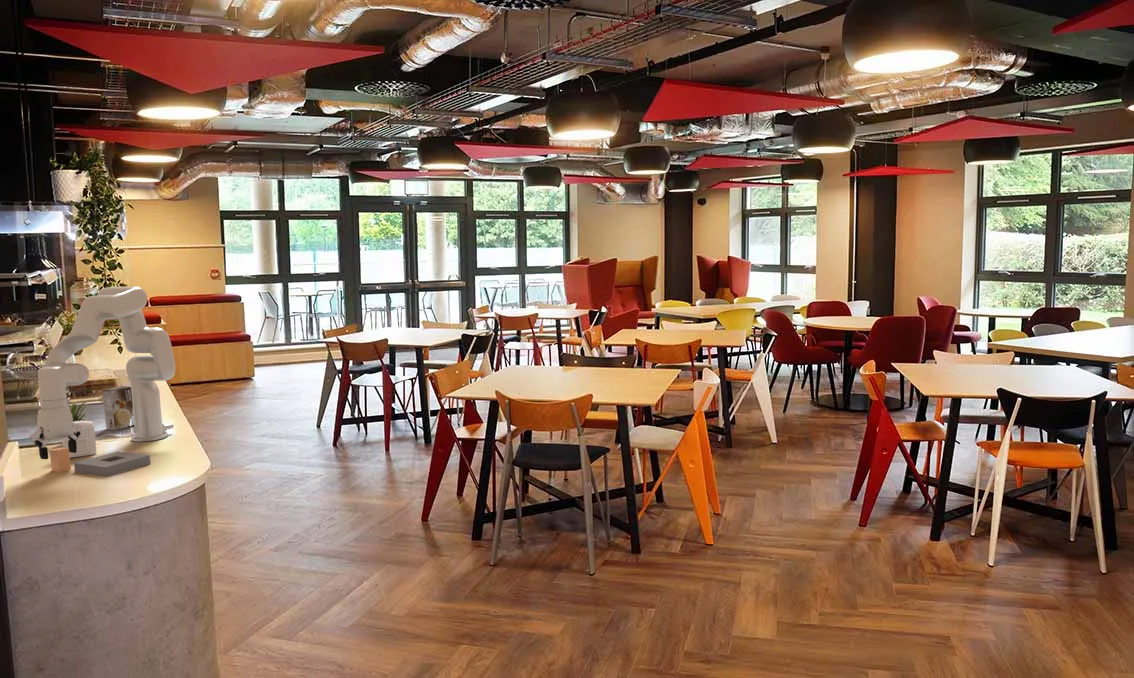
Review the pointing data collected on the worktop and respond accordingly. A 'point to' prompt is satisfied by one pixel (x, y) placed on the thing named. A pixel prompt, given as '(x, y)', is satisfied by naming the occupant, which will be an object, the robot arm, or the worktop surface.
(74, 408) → the house plant
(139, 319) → the robot arm
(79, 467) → the grey square hole board
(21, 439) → the worktop surface
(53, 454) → the orange rectangular block
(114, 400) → the coffee box
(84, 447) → the photo printer
